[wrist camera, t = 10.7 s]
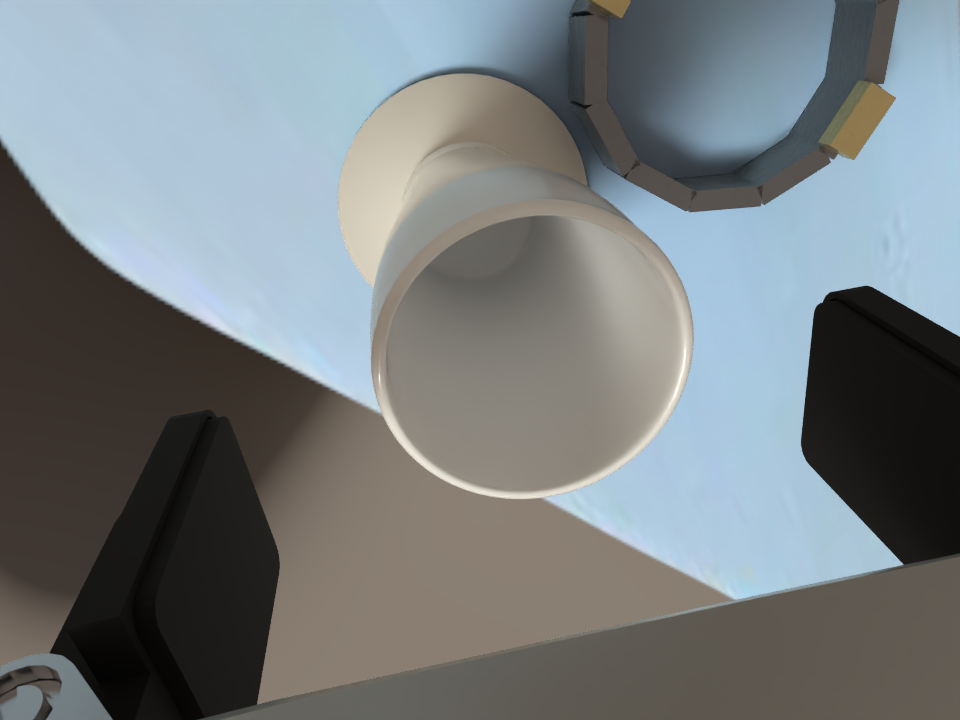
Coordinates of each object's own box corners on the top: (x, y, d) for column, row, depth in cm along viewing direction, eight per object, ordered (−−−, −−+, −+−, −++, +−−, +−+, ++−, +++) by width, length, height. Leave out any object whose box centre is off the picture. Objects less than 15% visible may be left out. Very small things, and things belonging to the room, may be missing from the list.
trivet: (301, 263, 28) (300, 268, 28) (400, 22, 25) (401, 21, 24) (514, 353, 31) (516, 358, 30) (629, 146, 28) (634, 149, 27)
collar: (512, 117, 27) (527, 127, 24) (668, -201, 23) (708, -236, 20) (744, 240, 30) (783, 263, 27) (914, -20, 26) (981, -27, 23)
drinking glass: (348, 177, 26) (295, 313, 13) (502, 84, 26) (620, 123, 12) (438, 318, 29) (472, 553, 16) (579, 238, 28) (745, 412, 15)
